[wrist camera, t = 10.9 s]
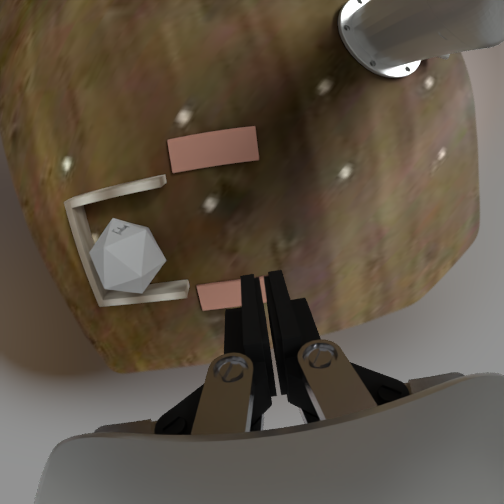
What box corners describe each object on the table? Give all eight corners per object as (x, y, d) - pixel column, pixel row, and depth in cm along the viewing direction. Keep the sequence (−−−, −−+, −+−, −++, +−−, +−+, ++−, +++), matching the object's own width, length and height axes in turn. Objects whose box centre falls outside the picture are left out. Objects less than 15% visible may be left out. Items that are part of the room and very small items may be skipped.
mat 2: (271, 274, 37) (271, 276, 37) (273, 299, 39) (273, 301, 38) (196, 284, 37) (196, 286, 36) (202, 309, 38) (202, 310, 38)
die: (183, 242, 35) (149, 218, 26) (160, 305, 34) (118, 302, 24) (133, 224, 36) (94, 200, 27) (112, 282, 35) (66, 272, 26)
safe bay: (165, 174, 31) (159, 178, 28) (189, 285, 37) (186, 298, 34) (75, 196, 30) (63, 202, 28) (106, 295, 36) (99, 306, 34)
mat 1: (254, 126, 29) (255, 125, 29) (258, 159, 31) (259, 160, 31) (167, 139, 29) (167, 139, 29) (173, 172, 31) (172, 173, 30)
